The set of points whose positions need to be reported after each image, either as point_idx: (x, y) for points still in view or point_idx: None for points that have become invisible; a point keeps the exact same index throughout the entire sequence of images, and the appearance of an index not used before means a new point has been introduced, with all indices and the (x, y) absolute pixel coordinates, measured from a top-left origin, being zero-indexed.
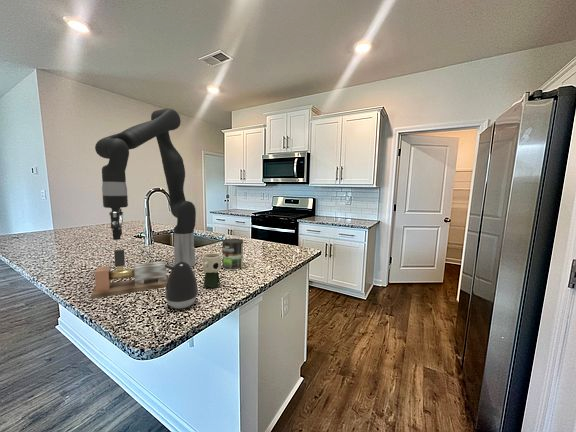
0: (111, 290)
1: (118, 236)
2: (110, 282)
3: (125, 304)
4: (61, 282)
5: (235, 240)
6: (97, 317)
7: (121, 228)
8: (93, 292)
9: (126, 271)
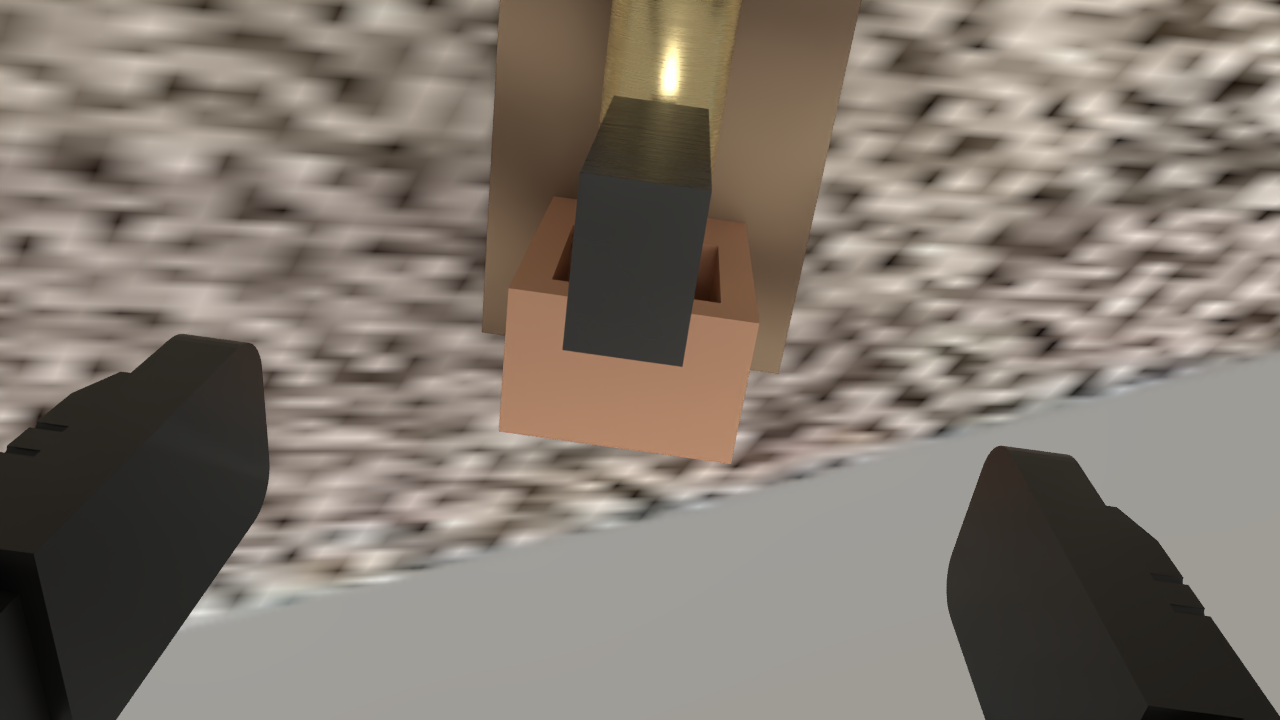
0: (774, 205)
1: (1157, 563)
2: None
3: (1172, 89)
4: None
5: None
6: (1270, 324)
7: (105, 478)
8: None
9: (708, 64)
